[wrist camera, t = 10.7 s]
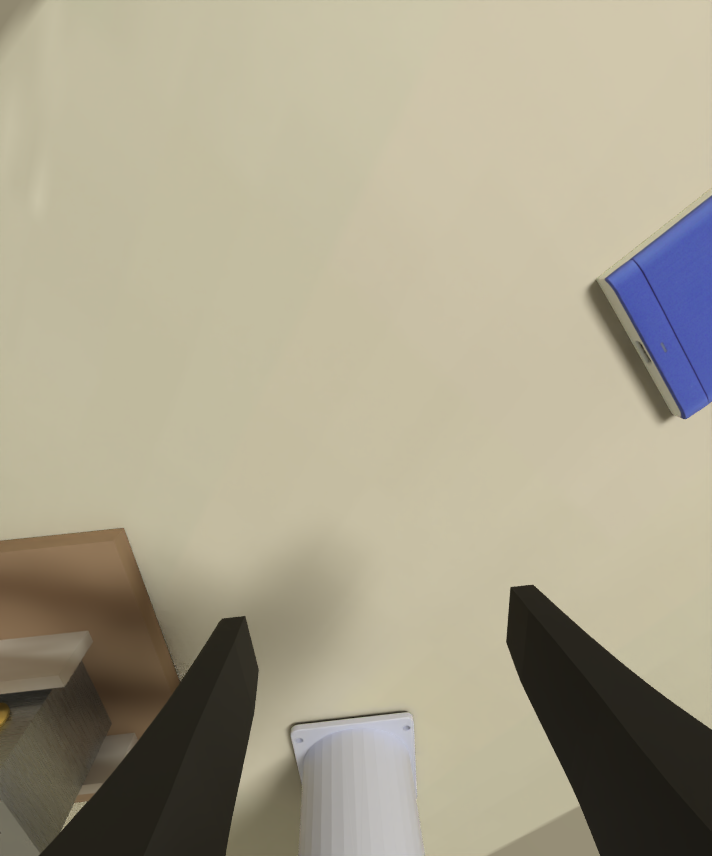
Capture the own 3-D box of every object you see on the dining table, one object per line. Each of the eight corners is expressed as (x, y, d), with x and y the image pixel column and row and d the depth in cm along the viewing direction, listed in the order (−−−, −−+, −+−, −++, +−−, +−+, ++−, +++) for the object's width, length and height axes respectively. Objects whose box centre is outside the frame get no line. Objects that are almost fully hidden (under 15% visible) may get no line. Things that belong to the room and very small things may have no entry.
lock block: (112, 723, 24) (46, 861, 18) (44, 731, 24) (-43, 872, 18) (76, 647, 22) (-13, 780, 16) (0, 656, 22) (-116, 792, 16)
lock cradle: (211, 769, 28) (195, 836, 24) (34, 790, 27) (-5, 860, 24) (123, 528, 20) (83, 578, 17) (-121, 553, 20) (-209, 609, 17)
